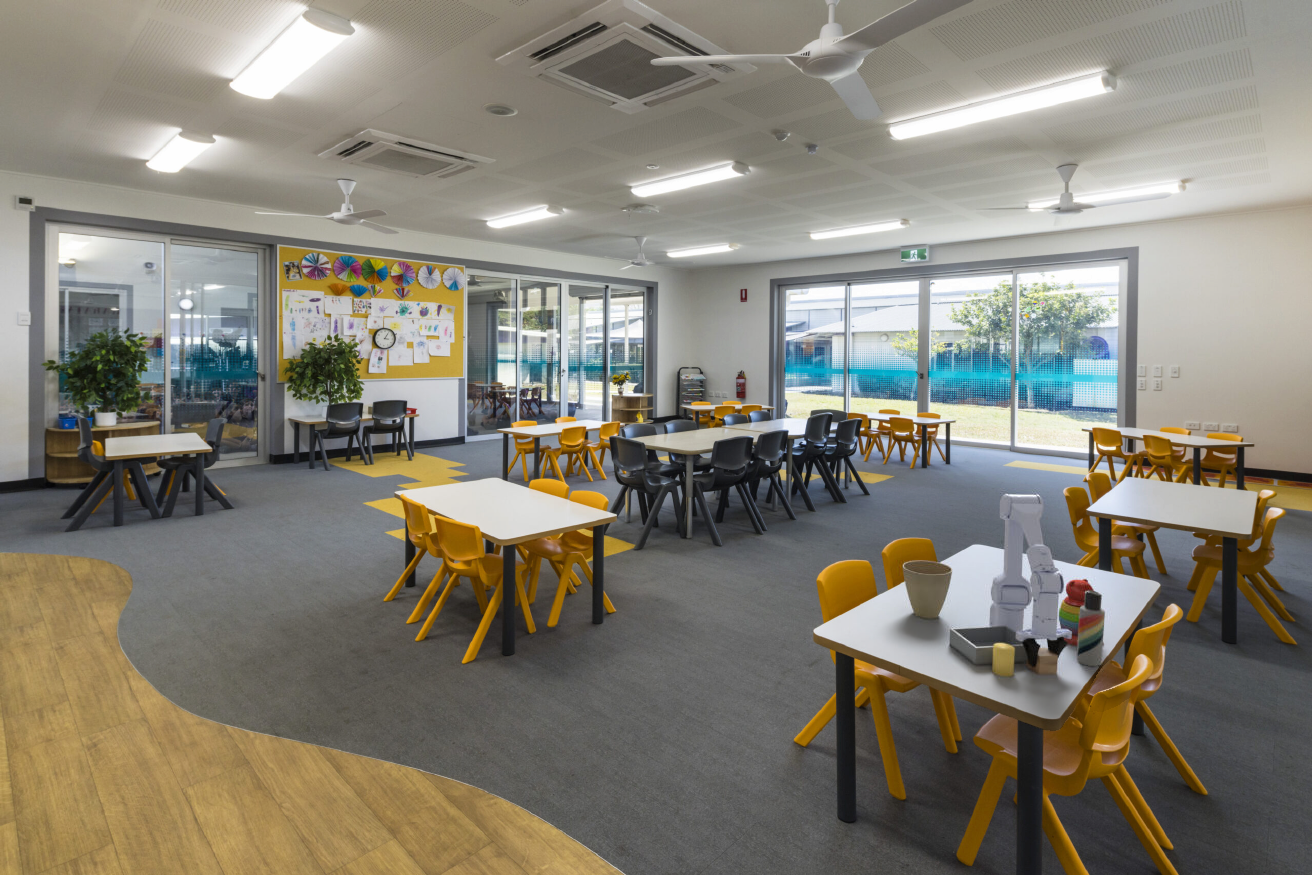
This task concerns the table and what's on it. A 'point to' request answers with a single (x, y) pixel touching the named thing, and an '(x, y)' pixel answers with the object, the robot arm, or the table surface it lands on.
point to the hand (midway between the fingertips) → (1041, 664)
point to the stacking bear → (1073, 607)
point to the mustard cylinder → (1003, 659)
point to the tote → (985, 643)
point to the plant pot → (927, 586)
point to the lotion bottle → (1091, 630)
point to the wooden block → (1045, 662)
